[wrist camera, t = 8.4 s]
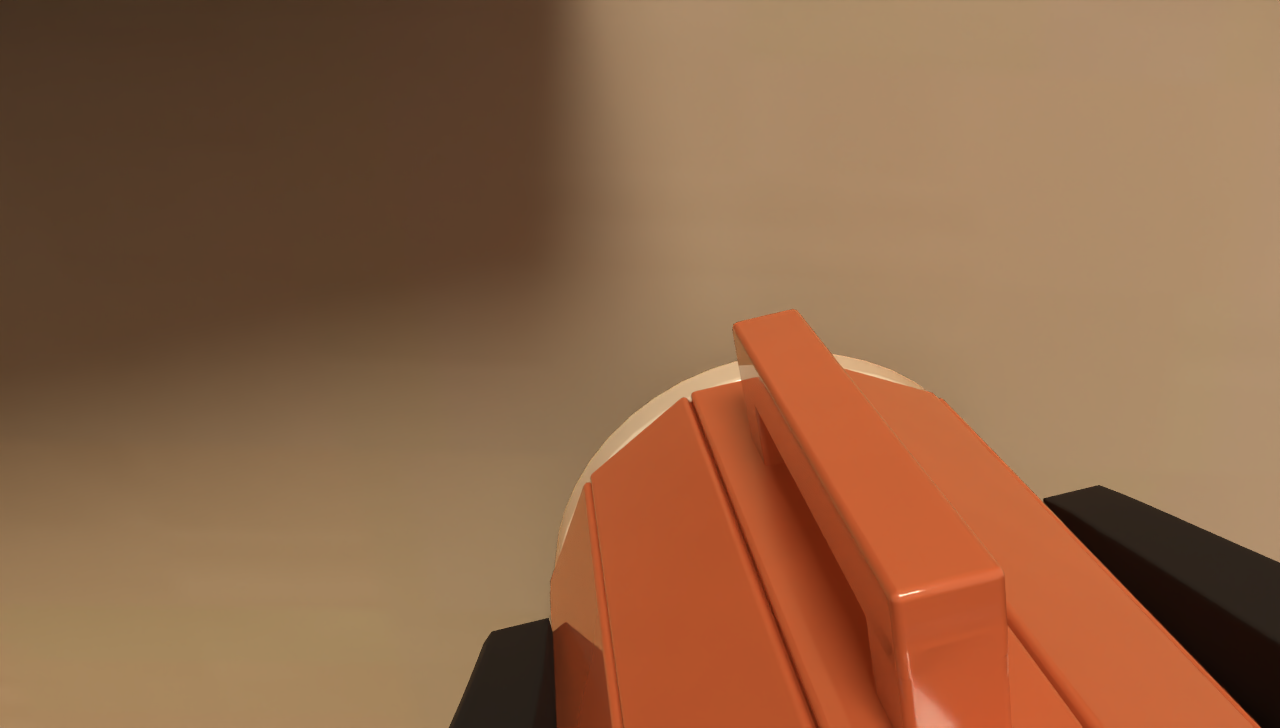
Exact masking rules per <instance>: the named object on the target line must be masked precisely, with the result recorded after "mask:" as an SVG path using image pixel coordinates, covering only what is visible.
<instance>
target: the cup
mask: <svg viewBox="0 0 1280 728" xmlns="http://www.w3.org/2000/svg"><path fill="white" fill-rule="evenodd" d="M732 331H733V337H734V342H735V348H736V354H737V360H738V361H735V362H732V363H728V364H725V365H722V366H718V367H715V368H712V369H709V370H707V371H705V372H703V373H700V374H698V375H696V376H693V377H691V378H689V379H686V380H684V381H682V382H680V383H679V384H677V385H675V386H674V387H672V388H670V389H668V390H667V391H665V392H663V393H661V394H660V395H658V396H656V397H655V398H654V399H652V400H651V401H650V402H648V403H647V404H646V405H644V406H643V407H642V408H640V409H639V410H638V411H636V412H635V413H634V414H632V415H631V416H630V417H629V418H628V419H627V420H626V421H625V422H624V423H623V424H622V425H621V426H620V427H619V428H618V429H617V430H616V431H615V432H614V433H613V434H612V435H611V436H609V438H608V439H607V440H606V441H605V443H604V444H603V445H602V446H601V448H600V449H599V450H598V451H597V453H596V454H595V455H594V456H593V458H592V459H591V460H590V462H589V463H588V465H587V467H586V468H585V470H584V472H583V473H582V475H581V477H580V478H579V480H578V482H577V483H576V485H575V487H574V490H573V492H572V494H571V497H570V499H569V501H568V504H567V506H566V508H565V511H564V515H563V519H562V522H561V526H560V530H559V534H558V540H557V549H556V559H555V569H554V572H553V575H552V578H551V581H550V584H551V591H550V605H551V628H552V631H553V649H554V672H555V694H556V719H557V728H1262V727H1261V726H1260V725H1259V724H1258V723H1257V722H1256V721H1255V720H1254V719H1253V718H1252V717H1251V716H1250V715H1249V714H1248V713H1247V712H1246V711H1245V710H1244V709H1243V708H1242V707H1241V706H1240V705H1239V704H1238V703H1237V701H1236V700H1235V699H1234V698H1233V697H1232V696H1231V695H1230V694H1229V693H1228V692H1227V691H1226V690H1225V689H1224V688H1223V687H1222V686H1221V685H1220V684H1219V683H1218V682H1217V681H1216V680H1215V679H1214V678H1213V677H1212V676H1211V675H1210V674H1209V673H1208V672H1207V671H1206V670H1205V668H1204V667H1203V666H1202V665H1201V664H1200V663H1199V662H1198V661H1197V660H1196V659H1195V658H1194V657H1193V656H1192V655H1191V654H1190V653H1189V652H1188V651H1187V650H1186V649H1185V648H1184V647H1183V646H1182V645H1181V644H1180V643H1179V642H1178V641H1177V640H1176V639H1175V638H1174V637H1173V635H1172V634H1171V633H1170V632H1169V631H1168V630H1167V629H1166V628H1165V627H1164V626H1163V625H1162V624H1161V623H1160V622H1159V621H1158V620H1157V619H1156V618H1155V617H1154V616H1153V615H1152V614H1151V613H1150V612H1149V611H1148V610H1147V609H1146V608H1145V607H1144V606H1143V605H1142V604H1141V603H1140V601H1139V600H1138V599H1137V598H1136V597H1135V596H1134V595H1133V594H1132V593H1131V592H1130V591H1129V590H1128V589H1127V588H1126V587H1125V586H1124V585H1123V584H1122V583H1121V582H1120V581H1119V580H1118V579H1117V578H1116V577H1115V576H1114V575H1113V574H1112V573H1111V572H1110V571H1109V570H1108V568H1107V567H1106V566H1105V565H1104V564H1103V563H1102V562H1101V561H1100V560H1099V559H1098V558H1097V557H1096V556H1095V555H1094V554H1093V553H1092V552H1091V551H1090V550H1089V549H1088V548H1087V547H1086V546H1085V545H1084V544H1083V543H1082V542H1081V541H1080V540H1079V539H1078V538H1077V537H1076V535H1075V534H1074V533H1073V532H1072V531H1071V530H1070V529H1069V528H1068V527H1067V526H1066V525H1065V524H1064V523H1063V522H1062V521H1061V520H1060V519H1059V518H1058V517H1057V516H1056V515H1055V514H1054V513H1053V512H1052V511H1051V510H1050V509H1049V508H1048V507H1047V506H1046V505H1045V504H1044V502H1043V501H1042V500H1041V499H1040V498H1039V497H1038V496H1037V495H1036V494H1035V493H1034V492H1033V491H1032V490H1031V489H1030V488H1029V487H1028V486H1027V485H1026V484H1025V483H1024V482H1023V481H1022V480H1021V479H1020V478H1019V477H1018V476H1017V475H1016V474H1015V473H1014V472H1013V471H1012V470H1011V468H1010V467H1009V466H1008V465H1007V464H1006V463H1005V462H1004V461H1003V460H1002V459H1001V458H1000V457H999V456H998V455H997V454H996V453H995V452H994V451H993V450H992V449H991V448H990V447H989V446H988V445H987V444H986V443H985V442H984V441H983V440H982V439H981V438H980V437H979V435H978V434H977V433H976V432H975V431H974V430H973V429H972V428H971V427H970V426H969V425H968V424H967V423H966V422H965V421H964V420H963V419H962V418H961V417H960V416H959V415H958V414H957V413H956V412H955V411H954V410H953V409H952V408H951V407H950V406H949V405H948V404H947V402H946V401H945V400H943V399H941V398H938V397H937V396H936V395H935V394H933V393H931V392H928V391H927V390H925V389H924V388H923V387H921V386H920V385H919V384H917V383H916V382H914V381H912V380H910V379H908V378H906V377H904V376H902V375H900V374H899V373H897V372H895V371H893V370H890V369H888V368H885V367H882V366H879V365H876V364H874V363H871V362H868V361H865V360H860V359H855V358H851V357H846V356H841V355H836V354H831V352H830V351H829V350H828V348H827V347H826V346H825V345H824V343H823V342H822V341H821V340H820V338H819V337H818V336H817V335H816V333H815V332H814V331H813V330H812V328H811V327H810V326H809V325H808V323H807V322H806V321H805V320H804V318H803V317H802V316H801V315H800V313H799V312H798V311H797V310H794V309H791V310H787V311H782V312H778V313H774V314H770V315H765V316H761V317H757V318H752V319H748V320H744V321H740V322H736V323H735V324H733V329H732Z"/></svg>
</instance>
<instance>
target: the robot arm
mask: <svg viewBox="0 0 1280 728" xmlns="http://www.w3.org/2000/svg"><path fill="white" fill-rule="evenodd" d="M1043 502H1044V504H1045V505H1046V506H1047V507H1048V508H1049V509H1050V510H1051V511H1052V512H1053V513H1054V514H1055V515H1056V516H1057V517H1058V518H1059V519H1060V520H1061V521H1062V522H1063V523H1064V524H1065V525H1066V526H1067V527H1068V528H1069V529H1070V530H1071V531H1072V532H1073V533H1074V534H1075V535H1076V537H1077V538H1078V539H1079V540H1080V541H1081V542H1082V543H1083V544H1084V545H1085V546H1086V547H1087V548H1088V549H1089V550H1090V551H1091V552H1092V553H1093V554H1094V555H1095V556H1096V557H1097V558H1098V559H1099V560H1100V561H1101V562H1102V563H1103V564H1104V565H1105V566H1106V567H1107V568H1108V570H1109V571H1110V572H1111V573H1112V574H1113V575H1114V576H1115V577H1116V578H1117V579H1118V580H1119V581H1120V582H1121V583H1122V584H1123V585H1124V586H1125V587H1126V588H1127V589H1128V590H1129V591H1130V592H1131V593H1132V594H1133V595H1134V596H1135V597H1136V598H1137V599H1138V600H1139V601H1140V603H1141V604H1142V605H1143V606H1144V607H1145V608H1146V609H1147V610H1148V611H1149V612H1150V613H1151V614H1152V615H1153V616H1154V617H1155V618H1156V619H1157V620H1158V621H1159V622H1160V623H1161V624H1162V625H1163V626H1164V627H1165V628H1166V629H1167V630H1168V631H1169V632H1170V633H1171V634H1172V635H1173V637H1174V638H1175V639H1176V640H1177V641H1178V642H1179V643H1180V644H1181V645H1182V646H1183V647H1184V648H1185V649H1186V650H1187V651H1188V652H1189V653H1190V654H1191V655H1192V656H1193V657H1194V658H1195V659H1196V660H1197V661H1198V662H1199V663H1200V664H1201V665H1202V666H1203V667H1204V668H1205V670H1206V671H1207V672H1208V673H1209V674H1210V675H1211V676H1212V677H1213V678H1214V679H1215V680H1216V681H1217V682H1218V683H1219V684H1220V685H1221V686H1222V687H1223V688H1224V689H1225V690H1226V691H1227V692H1228V693H1229V694H1230V695H1231V696H1232V697H1233V698H1234V699H1235V700H1236V701H1237V703H1238V704H1239V705H1240V706H1241V707H1242V708H1243V709H1244V710H1245V711H1246V712H1247V713H1248V714H1249V715H1250V716H1251V717H1252V718H1253V719H1254V720H1255V721H1256V722H1257V723H1258V724H1259V725H1260V726H1261V727H1262V728H1280V563H1279V562H1277V561H1275V560H1272V559H1270V558H1268V557H1265V556H1263V555H1261V554H1258V553H1256V552H1254V551H1252V550H1249V549H1247V548H1245V547H1242V546H1240V545H1238V544H1235V543H1233V542H1231V541H1229V540H1226V539H1224V538H1222V537H1220V536H1217V535H1215V534H1213V533H1211V532H1208V531H1206V530H1204V529H1202V528H1199V527H1197V526H1195V525H1193V524H1190V523H1188V522H1186V521H1184V520H1181V519H1179V518H1177V517H1174V516H1172V515H1170V514H1168V513H1165V512H1163V511H1161V510H1159V509H1156V508H1154V507H1152V506H1149V505H1147V504H1145V503H1142V502H1140V501H1138V500H1135V499H1133V498H1131V497H1128V496H1126V495H1123V494H1121V493H1118V492H1116V491H1113V490H1111V489H1108V488H1105V487H1103V486H1100V485H1098V486H1093V487H1089V488H1085V489H1081V490H1077V491H1073V492H1068V493H1064V494H1060V495H1056V496H1052V497H1048V498H1044V499H1043ZM449 728H557V719H556V694H555V672H554V649H553V631H552V628H551V625H550V621H549V618H546V619H542V620H538V621H534V622H530V623H526V624H522V625H517V626H513V627H509V628H505V629H501V630H497V631H493V632H491V633H490V635H489V636H488V638H487V639H486V641H485V642H484V644H483V647H482V649H481V652H480V654H479V657H478V660H477V662H476V665H475V667H474V670H473V672H472V675H471V677H470V680H469V682H468V685H467V687H466V689H465V692H464V694H463V697H462V699H461V701H460V704H459V706H458V708H457V711H456V713H455V715H454V717H453V720H452V722H451V724H450V727H449Z"/></svg>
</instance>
